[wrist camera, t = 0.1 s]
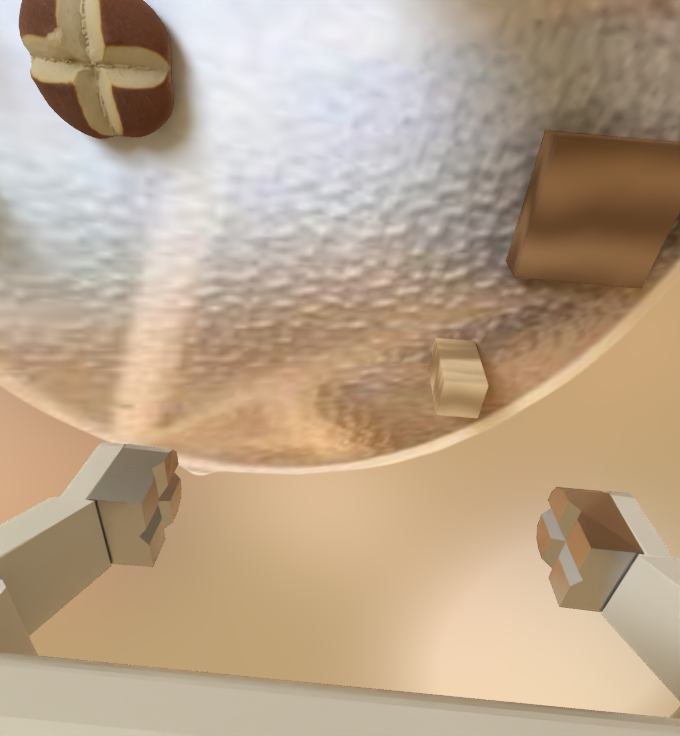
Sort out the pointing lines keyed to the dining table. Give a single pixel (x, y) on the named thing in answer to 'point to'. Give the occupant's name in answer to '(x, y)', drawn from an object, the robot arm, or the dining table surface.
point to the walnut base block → (596, 209)
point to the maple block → (457, 378)
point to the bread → (100, 63)
